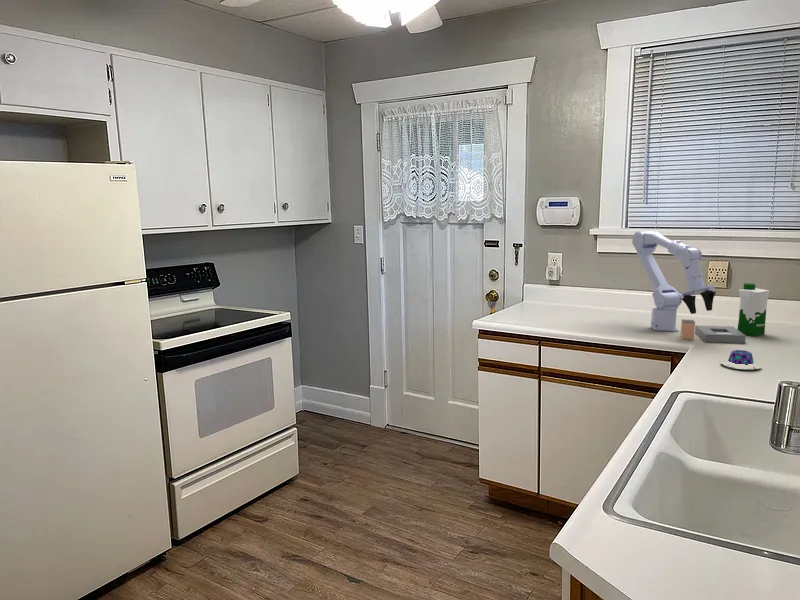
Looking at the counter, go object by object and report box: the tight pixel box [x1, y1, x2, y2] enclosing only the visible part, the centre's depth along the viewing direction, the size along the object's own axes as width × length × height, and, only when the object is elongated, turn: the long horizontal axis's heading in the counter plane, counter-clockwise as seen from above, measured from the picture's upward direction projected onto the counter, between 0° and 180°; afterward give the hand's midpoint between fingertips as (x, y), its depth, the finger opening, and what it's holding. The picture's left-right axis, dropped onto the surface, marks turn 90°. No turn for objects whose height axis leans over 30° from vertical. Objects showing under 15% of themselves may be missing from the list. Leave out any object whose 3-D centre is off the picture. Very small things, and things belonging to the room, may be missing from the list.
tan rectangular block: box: [680, 319, 696, 340], centre depth 238 cm, size 4×4×7 cm
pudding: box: [727, 349, 755, 365], centre depth 200 cm, size 12×12×5 cm
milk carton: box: [736, 282, 770, 337], centre depth 242 cm, size 9×9×20 cm
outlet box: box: [694, 324, 747, 344], centre depth 238 cm, size 14×16×3 cm
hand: (701, 312), depth 236 cm, fingers open, 7 cm apart
